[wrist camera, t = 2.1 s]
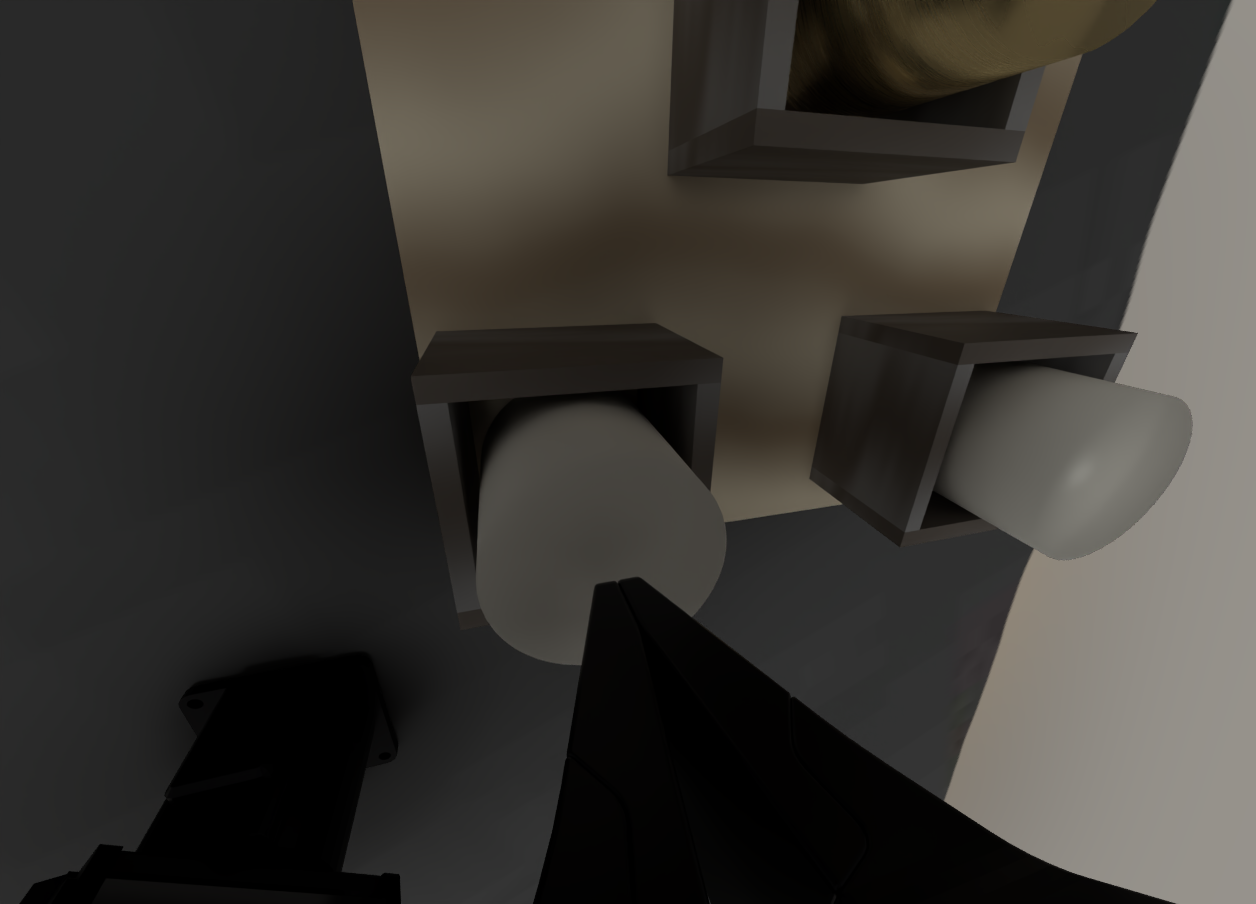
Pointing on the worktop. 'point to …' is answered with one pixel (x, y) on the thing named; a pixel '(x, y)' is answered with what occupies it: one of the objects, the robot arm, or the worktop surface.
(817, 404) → the mount
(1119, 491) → the knob back
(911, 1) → the brass dial
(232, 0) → the worktop surface
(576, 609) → the knob front
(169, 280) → the worktop surface
